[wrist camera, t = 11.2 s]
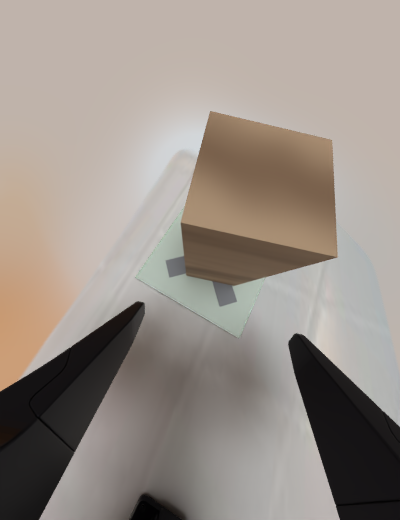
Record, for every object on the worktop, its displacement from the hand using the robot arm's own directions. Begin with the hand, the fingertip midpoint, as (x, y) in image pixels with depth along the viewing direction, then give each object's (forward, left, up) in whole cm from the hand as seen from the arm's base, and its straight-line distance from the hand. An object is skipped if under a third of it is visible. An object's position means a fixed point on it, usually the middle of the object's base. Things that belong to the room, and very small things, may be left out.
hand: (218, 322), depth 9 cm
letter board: (+6, +2, -10) cm, 12 cm away
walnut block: (+6, +2, -9) cm, 11 cm away
